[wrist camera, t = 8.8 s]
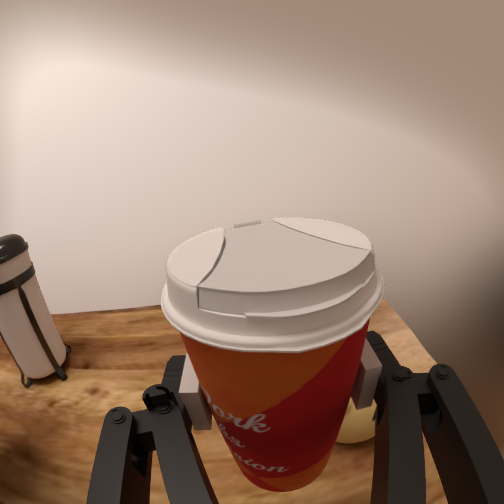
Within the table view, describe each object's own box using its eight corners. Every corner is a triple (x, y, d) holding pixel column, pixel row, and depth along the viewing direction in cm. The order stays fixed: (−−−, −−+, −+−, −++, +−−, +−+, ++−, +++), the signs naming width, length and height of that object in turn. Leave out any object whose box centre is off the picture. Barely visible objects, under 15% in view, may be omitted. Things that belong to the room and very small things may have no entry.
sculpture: (306, 387, 38) (306, 329, 34) (387, 387, 34) (401, 328, 30) (292, 451, 27) (291, 399, 24) (391, 452, 24) (416, 398, 20)
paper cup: (213, 426, 17) (158, 232, 12) (316, 399, 19) (319, 206, 14) (237, 522, 10) (138, 336, 5) (365, 480, 11) (443, 261, 7)
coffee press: (93, 357, 47) (41, 208, 37) (38, 402, 33) (-38, 241, 23) (56, 335, 54) (14, 214, 44) (10, 369, 41) (-44, 240, 30)
